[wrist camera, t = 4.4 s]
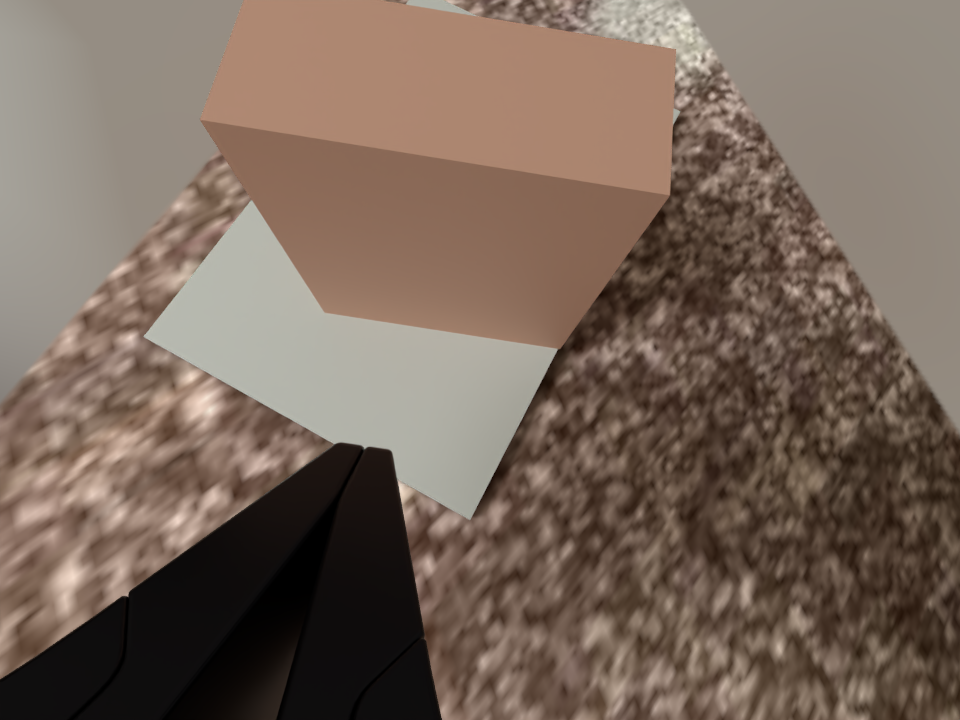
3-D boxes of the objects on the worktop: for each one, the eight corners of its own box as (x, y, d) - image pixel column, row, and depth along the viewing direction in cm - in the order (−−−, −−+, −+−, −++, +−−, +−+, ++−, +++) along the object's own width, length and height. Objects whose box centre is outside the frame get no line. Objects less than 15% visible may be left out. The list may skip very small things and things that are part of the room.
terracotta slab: (560, 349, 21) (670, 195, 11) (324, 312, 21) (199, 119, 11) (568, 264, 22) (675, 49, 12) (345, 229, 22) (251, -21, 12)
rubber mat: (675, 118, 26) (680, 111, 25) (469, 519, 20) (469, 520, 19) (418, -3, 27) (418, -12, 26) (150, 340, 21) (143, 336, 20)
